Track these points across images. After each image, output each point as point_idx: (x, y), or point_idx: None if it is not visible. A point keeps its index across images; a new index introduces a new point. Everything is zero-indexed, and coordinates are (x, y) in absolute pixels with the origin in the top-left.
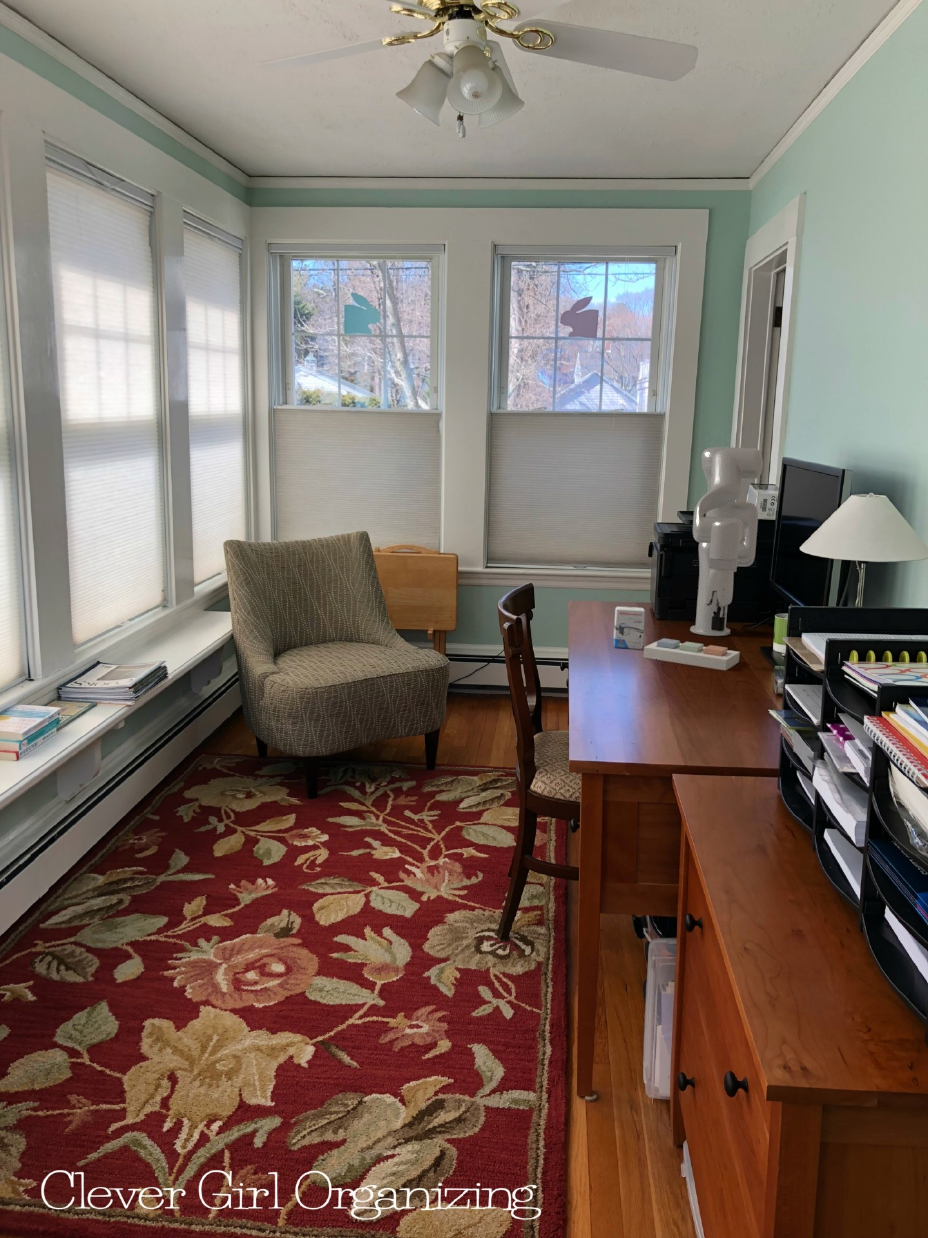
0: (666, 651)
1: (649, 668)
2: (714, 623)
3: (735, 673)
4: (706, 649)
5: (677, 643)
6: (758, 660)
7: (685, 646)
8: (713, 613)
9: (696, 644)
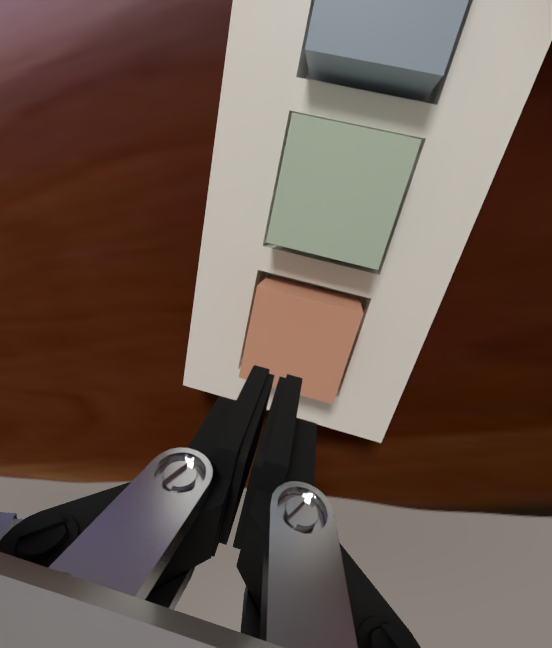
0: (230, 32)
1: (48, 11)
2: (208, 420)
3: (179, 395)
4: (255, 296)
5: (388, 71)
6: (442, 483)
7: (283, 156)
8: (100, 492)
9: (347, 226)
